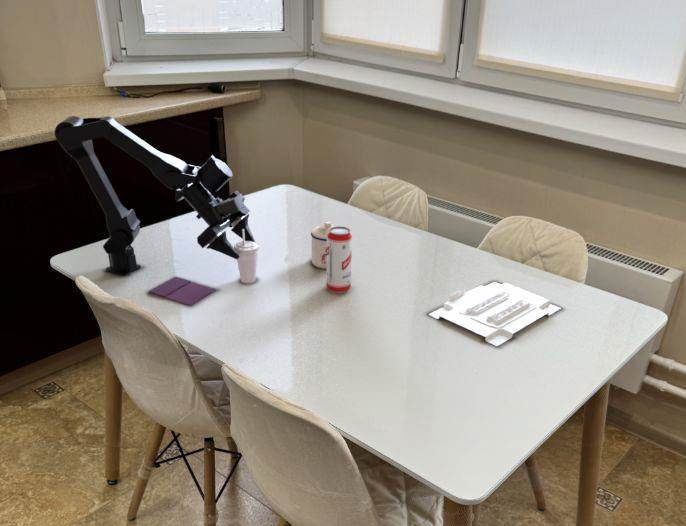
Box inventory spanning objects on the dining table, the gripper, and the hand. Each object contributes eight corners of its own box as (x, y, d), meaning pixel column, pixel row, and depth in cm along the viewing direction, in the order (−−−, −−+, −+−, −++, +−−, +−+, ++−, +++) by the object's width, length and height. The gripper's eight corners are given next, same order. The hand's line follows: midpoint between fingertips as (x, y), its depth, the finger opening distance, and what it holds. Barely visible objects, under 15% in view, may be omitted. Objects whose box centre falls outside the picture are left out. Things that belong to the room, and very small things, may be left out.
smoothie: (236, 274, 183) (233, 224, 175) (261, 274, 183) (258, 224, 176) (234, 285, 177) (231, 234, 170) (260, 285, 178) (257, 234, 170)
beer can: (353, 286, 180) (356, 227, 171) (345, 296, 175) (347, 236, 166) (331, 282, 181) (332, 224, 173) (322, 292, 176) (323, 232, 168)
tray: (561, 308, 174) (564, 294, 172) (497, 350, 157) (499, 336, 155) (494, 281, 186) (495, 268, 183) (427, 318, 169) (428, 305, 167)
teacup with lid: (322, 272, 186) (322, 231, 180) (304, 260, 192) (304, 220, 186) (358, 263, 192) (360, 223, 186) (340, 251, 198) (341, 212, 192)
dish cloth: (148, 292, 172) (148, 291, 172) (175, 278, 180) (175, 276, 179) (190, 305, 167) (190, 303, 167) (215, 290, 175) (215, 288, 175)
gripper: (203, 195, 161) (249, 247, 164) (240, 173, 176) (281, 221, 179) (177, 223, 167) (222, 272, 170) (215, 199, 182) (255, 245, 185)
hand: (246, 251), depth 176 cm, fingers open, 9 cm apart
